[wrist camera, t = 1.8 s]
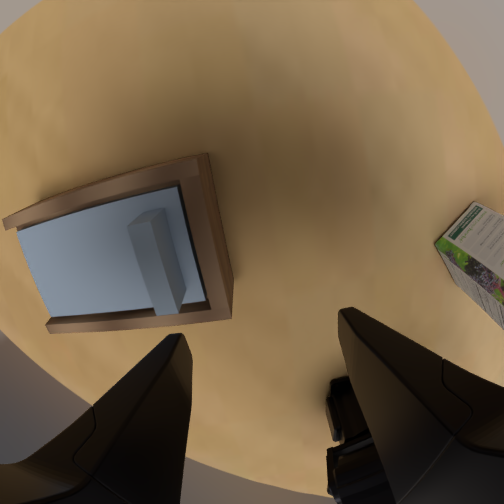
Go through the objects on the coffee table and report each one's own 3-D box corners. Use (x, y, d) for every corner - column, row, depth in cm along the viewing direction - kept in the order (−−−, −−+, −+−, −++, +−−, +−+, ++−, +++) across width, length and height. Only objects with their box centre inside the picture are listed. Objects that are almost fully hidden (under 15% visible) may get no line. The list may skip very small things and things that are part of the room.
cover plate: (180, 184, 15) (164, 196, 12) (207, 293, 17) (200, 325, 14) (22, 228, 15) (-6, 245, 12) (56, 311, 18) (35, 336, 15)
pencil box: (207, 152, 17) (196, 158, 13) (233, 280, 21) (231, 318, 17) (38, 201, 18) (2, 219, 14) (75, 302, 21) (49, 333, 17)
